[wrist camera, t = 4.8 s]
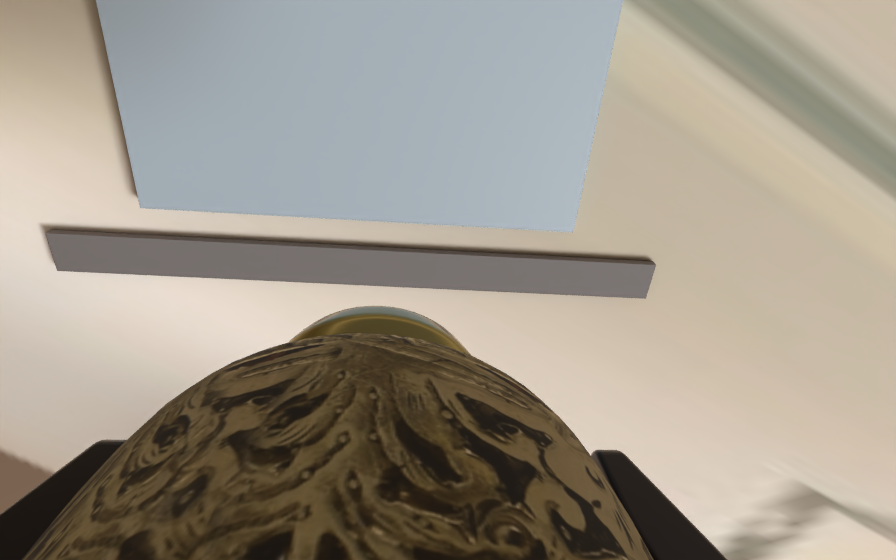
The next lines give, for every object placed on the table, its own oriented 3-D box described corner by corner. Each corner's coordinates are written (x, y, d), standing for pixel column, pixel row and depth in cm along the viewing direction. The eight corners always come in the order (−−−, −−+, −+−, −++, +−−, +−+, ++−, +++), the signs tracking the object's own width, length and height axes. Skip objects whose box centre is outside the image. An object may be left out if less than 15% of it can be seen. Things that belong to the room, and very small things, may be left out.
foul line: (643, 294, 22) (645, 298, 22) (61, 266, 20) (57, 270, 20) (653, 261, 21) (655, 264, 21) (50, 229, 19) (45, 233, 19)
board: (570, 226, 20) (573, 232, 20) (146, 202, 19) (140, 208, 19) (630, -61, 16) (636, -61, 15) (81, -114, 15) (71, -117, 14)
